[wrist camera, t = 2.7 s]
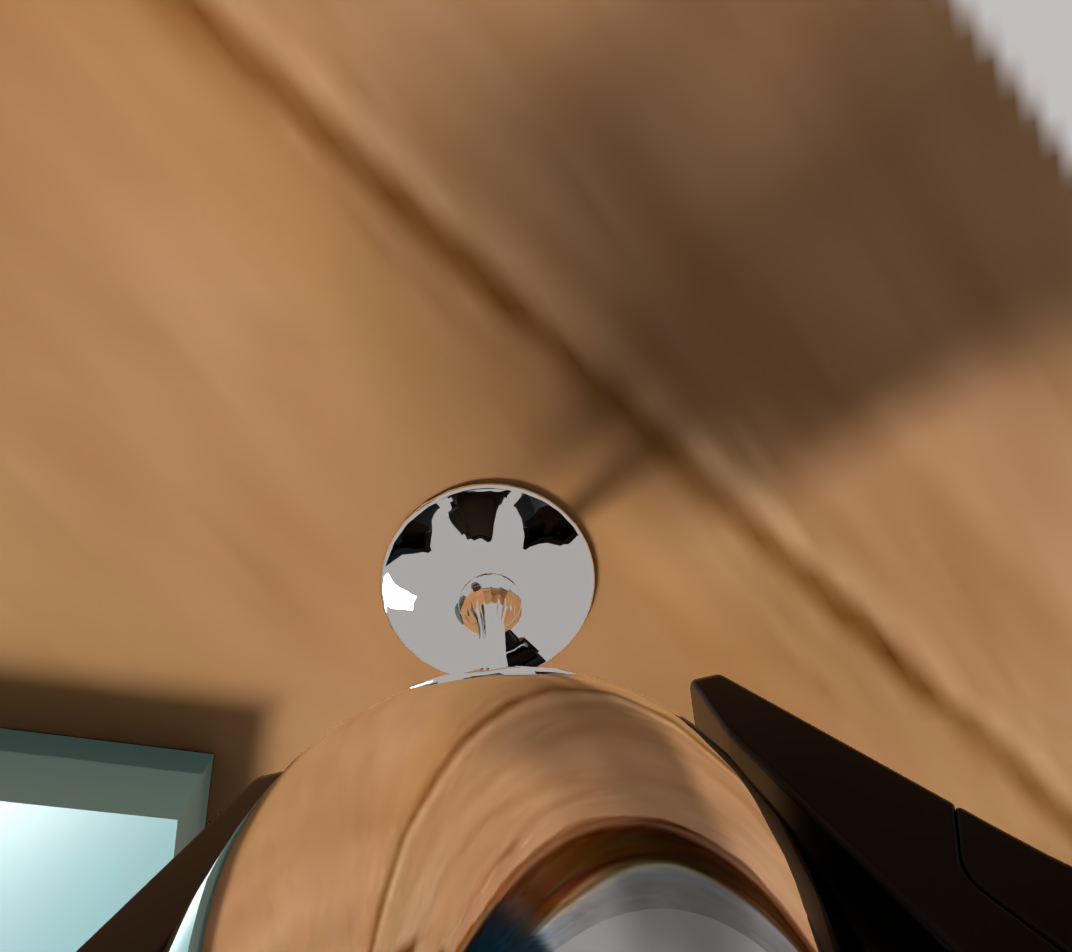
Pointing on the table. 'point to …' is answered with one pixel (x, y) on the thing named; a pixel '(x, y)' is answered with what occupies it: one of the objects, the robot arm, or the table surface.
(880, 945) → the robot arm
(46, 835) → the tray
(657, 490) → the table surface
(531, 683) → the wineglass
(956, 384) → the table surface
